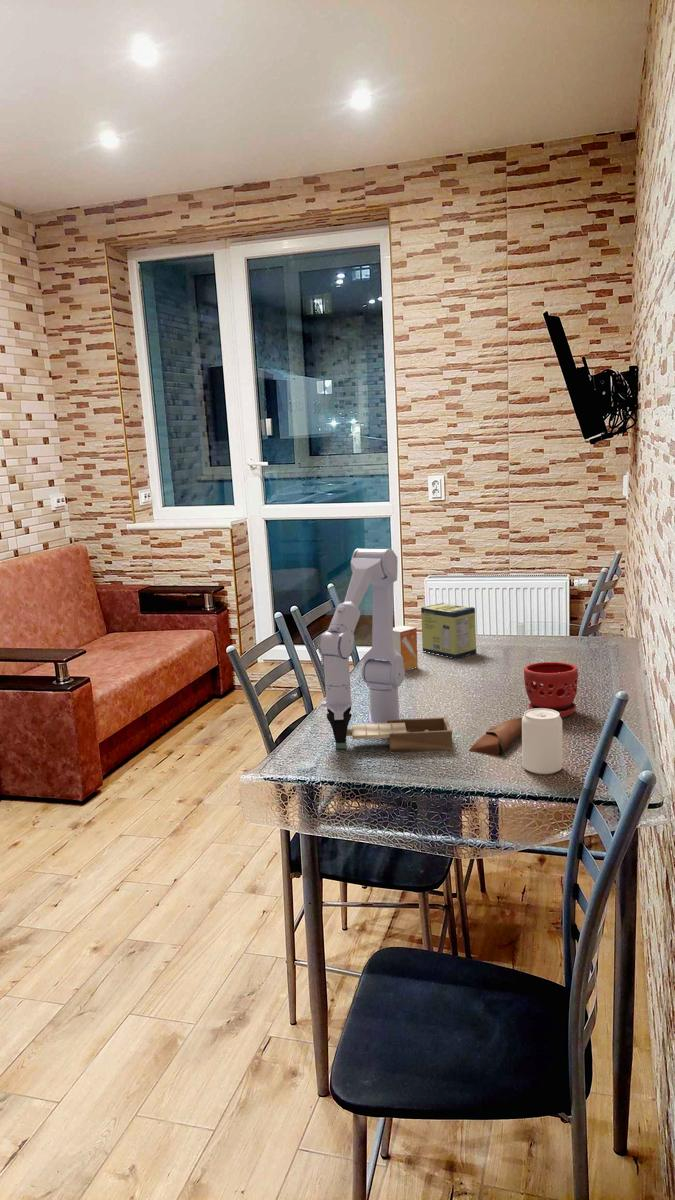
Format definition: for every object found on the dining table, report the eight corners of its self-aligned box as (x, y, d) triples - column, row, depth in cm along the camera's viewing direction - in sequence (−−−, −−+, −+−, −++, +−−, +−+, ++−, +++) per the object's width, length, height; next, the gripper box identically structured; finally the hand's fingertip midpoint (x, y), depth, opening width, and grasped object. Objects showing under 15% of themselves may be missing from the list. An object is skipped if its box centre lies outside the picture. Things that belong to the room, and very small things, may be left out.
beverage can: (544, 779, 162) (544, 722, 160) (514, 768, 168) (513, 713, 166) (570, 768, 166) (570, 713, 164) (539, 758, 173) (539, 705, 171)
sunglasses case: (493, 726, 194) (506, 705, 192) (518, 743, 192) (532, 722, 189) (467, 751, 179) (481, 728, 176) (493, 770, 177) (508, 748, 174)
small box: (401, 673, 246) (400, 632, 244) (386, 670, 251) (384, 629, 249) (418, 667, 252) (417, 627, 250) (403, 664, 256) (401, 624, 254)
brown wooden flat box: (387, 737, 190) (387, 719, 190) (446, 734, 190) (446, 717, 190) (390, 752, 181) (389, 734, 180) (452, 750, 180) (451, 731, 180)
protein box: (442, 646, 278) (441, 602, 275) (477, 653, 266) (476, 607, 264) (421, 652, 272) (419, 607, 269) (455, 659, 260) (454, 612, 257)
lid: (336, 740, 189) (335, 719, 189) (405, 737, 189) (404, 716, 188) (336, 752, 182) (334, 730, 181) (407, 748, 182) (406, 727, 181)
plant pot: (584, 708, 204) (584, 663, 202) (567, 723, 194) (567, 675, 192) (535, 702, 212) (535, 658, 210) (516, 716, 201) (515, 670, 199)
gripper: (320, 675, 190) (324, 730, 193) (319, 693, 176) (322, 751, 178) (350, 674, 190) (353, 728, 193) (351, 691, 176) (354, 750, 178)
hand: (340, 739), depth 185 cm, fingers closed on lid, 3 cm apart
